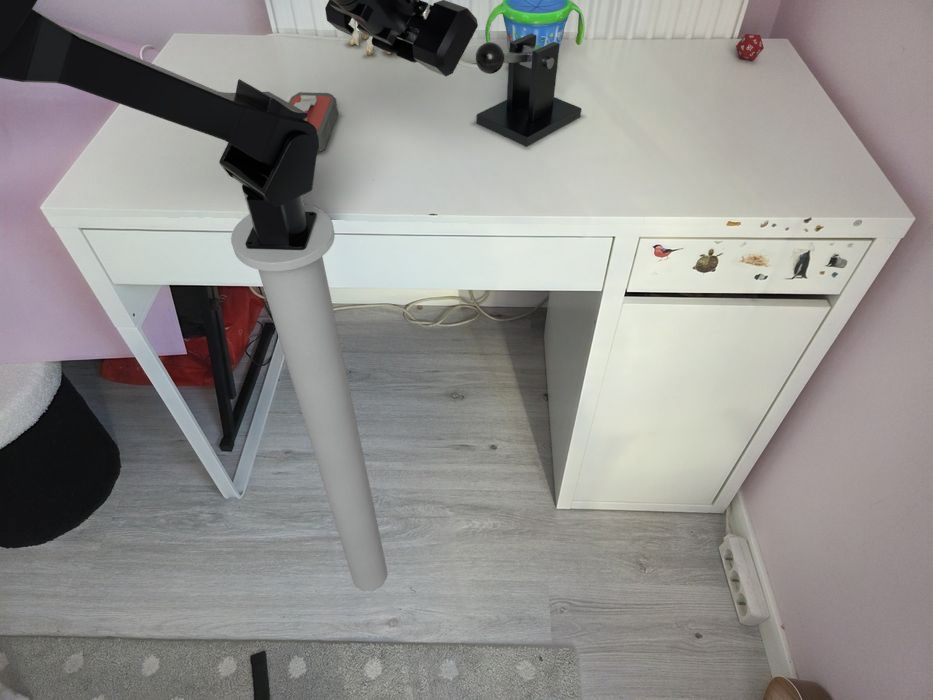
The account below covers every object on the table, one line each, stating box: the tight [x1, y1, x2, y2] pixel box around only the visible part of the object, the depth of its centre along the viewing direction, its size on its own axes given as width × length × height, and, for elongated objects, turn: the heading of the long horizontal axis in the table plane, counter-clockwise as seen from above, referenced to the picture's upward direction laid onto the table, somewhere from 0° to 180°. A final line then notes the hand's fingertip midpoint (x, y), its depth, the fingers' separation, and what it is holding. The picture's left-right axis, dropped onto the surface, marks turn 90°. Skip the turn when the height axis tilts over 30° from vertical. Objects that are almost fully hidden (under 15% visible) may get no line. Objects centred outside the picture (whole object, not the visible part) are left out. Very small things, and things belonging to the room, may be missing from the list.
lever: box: [475, 41, 541, 75], centre depth 82 cm, size 12×4×4 cm, turn 135°
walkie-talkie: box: [288, 91, 339, 153], centre depth 86 cm, size 9×4×20 cm
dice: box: [735, 33, 765, 61], centre depth 105 cm, size 4×4×4 cm
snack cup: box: [484, 0, 585, 52], centre depth 101 cm, size 16×10×10 cm
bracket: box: [476, 34, 582, 148], centre depth 88 cm, size 12×10×11 cm
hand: (439, 60), depth 74 cm, fingers closed
